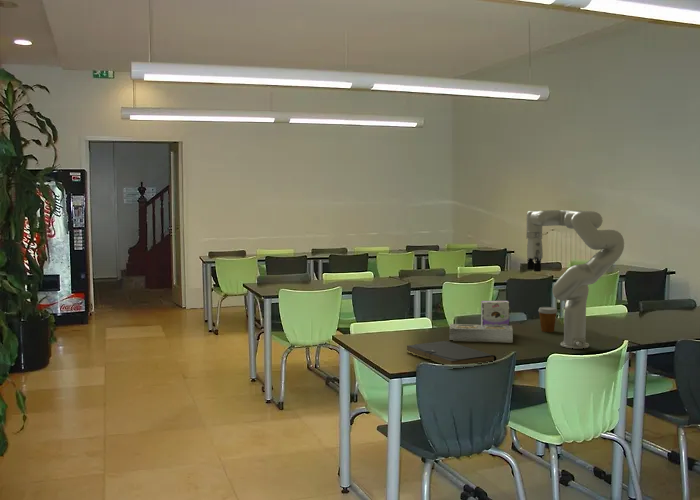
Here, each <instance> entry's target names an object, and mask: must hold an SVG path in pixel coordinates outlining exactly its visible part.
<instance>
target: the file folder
mask: <svg viewBox="0 0 700 500" xmlns="http://www.w3.org/2000/svg"><path fill="white" fill-rule="evenodd" d="M407 350H408V351H410V352H413V353H415V354H418V355H422V356H426V357H429V358H431V359H434V360H438V361H441V362H443V363H446V364H468V363H478V362H486V361H492V360H496V361H497V356H496V355H495V354H491V353H487V352H484V351H480V350H478V349H475V348H471V347H467V346H464V345H461V344H457V343H455V342H453V341H449V340H443V341H434V342H425V343H416V344H411V345H410V344H409V345H406V351H407Z"/></svg>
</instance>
